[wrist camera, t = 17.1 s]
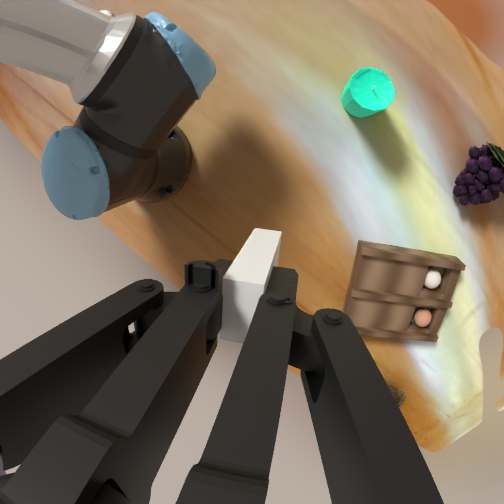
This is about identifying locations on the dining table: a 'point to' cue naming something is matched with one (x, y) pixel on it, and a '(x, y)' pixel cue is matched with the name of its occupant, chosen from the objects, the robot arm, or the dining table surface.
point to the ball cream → (432, 278)
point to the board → (398, 291)
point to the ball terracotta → (422, 317)
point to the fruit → (481, 176)
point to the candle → (367, 93)
